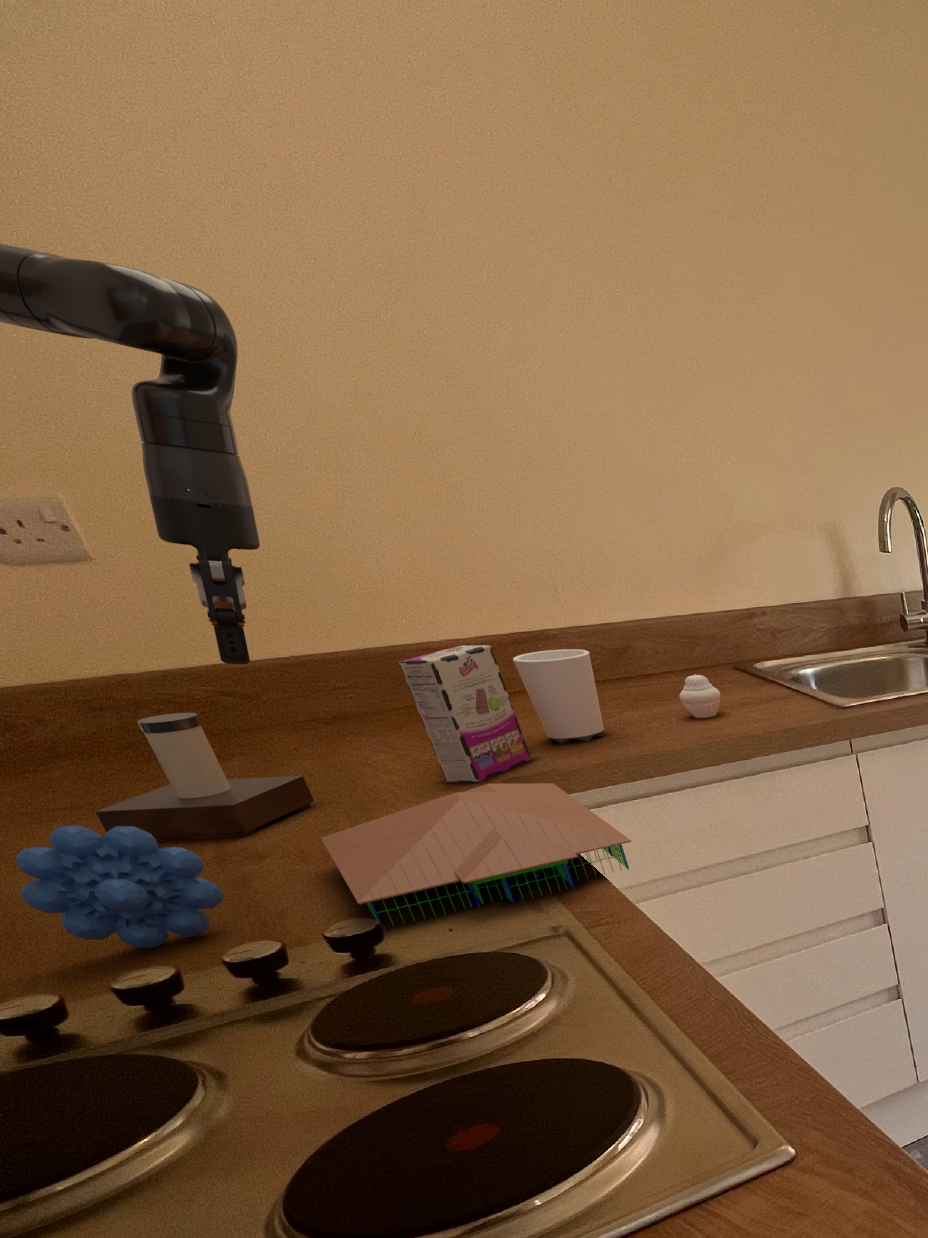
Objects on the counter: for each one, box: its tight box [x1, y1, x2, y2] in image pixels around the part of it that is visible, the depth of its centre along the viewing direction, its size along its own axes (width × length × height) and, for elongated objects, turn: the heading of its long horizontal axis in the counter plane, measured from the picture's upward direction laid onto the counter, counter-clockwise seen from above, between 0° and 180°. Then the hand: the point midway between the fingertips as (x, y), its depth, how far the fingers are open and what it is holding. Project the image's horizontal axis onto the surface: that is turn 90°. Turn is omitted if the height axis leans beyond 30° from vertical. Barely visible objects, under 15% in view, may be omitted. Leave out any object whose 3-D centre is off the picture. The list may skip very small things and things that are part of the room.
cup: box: [512, 648, 605, 744], centre depth 159 cm, size 10×10×13 cm
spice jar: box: [137, 712, 231, 799], centre depth 122 cm, size 5×5×9 cm
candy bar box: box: [397, 644, 532, 783], centre depth 142 cm, size 11×5×16 cm, turn 179°
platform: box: [95, 775, 315, 842], centre depth 125 cm, size 14×12×4 cm
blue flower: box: [15, 825, 224, 949], centre depth 91 cm, size 12×7×12 cm, turn 134°
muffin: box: [678, 673, 721, 719], centre depth 173 cm, size 6×6×7 cm
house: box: [320, 782, 632, 927], centre depth 111 cm, size 23×33×8 cm
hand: (235, 658), depth 113 cm, fingers open, 8 cm apart
